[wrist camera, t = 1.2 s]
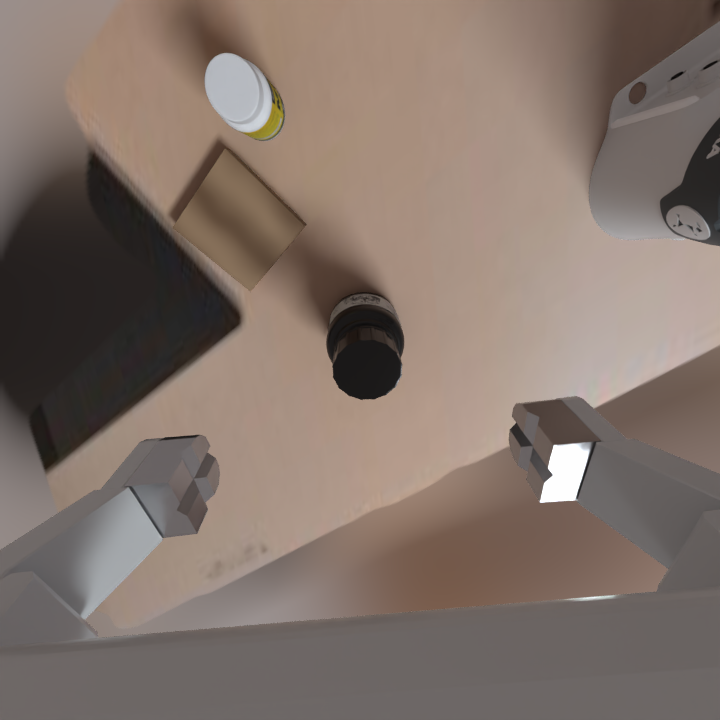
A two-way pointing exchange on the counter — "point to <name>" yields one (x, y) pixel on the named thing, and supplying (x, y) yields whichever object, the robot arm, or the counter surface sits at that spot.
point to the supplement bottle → (244, 97)
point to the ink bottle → (365, 345)
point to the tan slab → (238, 221)
